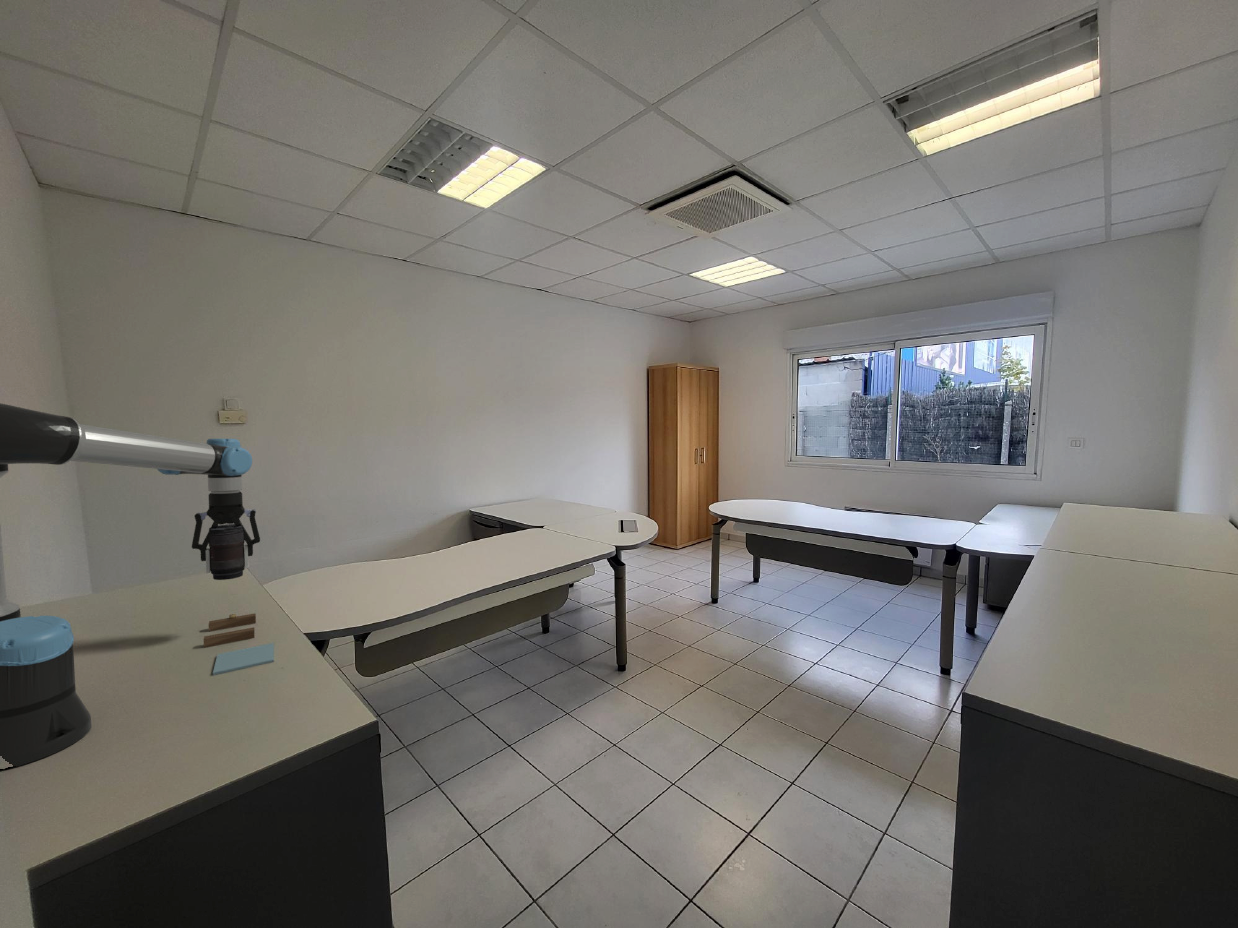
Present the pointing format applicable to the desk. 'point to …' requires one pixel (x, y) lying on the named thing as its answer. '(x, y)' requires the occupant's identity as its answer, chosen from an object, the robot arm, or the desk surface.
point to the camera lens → (226, 552)
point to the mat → (244, 658)
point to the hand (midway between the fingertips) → (228, 569)
